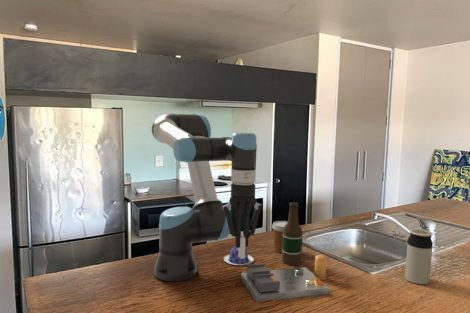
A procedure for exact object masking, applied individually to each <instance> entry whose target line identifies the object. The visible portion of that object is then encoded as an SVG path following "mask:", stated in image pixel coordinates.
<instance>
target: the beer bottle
mask: <svg viewBox="0 0 470 313" xmlns="http://www.w3.org/2000/svg"><path fill="white" fill-rule="evenodd" d="M288 206H289V209H288V210H289V211H288V219H287V224H286V225H285V227H284V229H283V242H282V253H281V261H282V262H283V264H284V265H288V266H298V265H299V264H301V263H302V256H303V254H302V253H303V250H302V249H303V230H302V227H301V226H300V224H299V206H300V205H299V203H298V202H295V201H292V202H289V205H288Z"/></svg>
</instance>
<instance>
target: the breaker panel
mask: <svg viewBox="0 0 470 313" xmlns="http://www.w3.org/2000/svg"><path fill="white" fill-rule="evenodd" d="M269 270H270V269H269ZM270 273H273V276H274V277H275V279H276V280H277V281H280V290H277V291H268V292H260V291H259V289H258V288H257V287H256V285H255V284H254V280H253V281H252V280H251V278H250V277H249V275H248V274H247V272H241V273H240V279H241V281H242V282H243V284H244V285H245V287H246V289H247V290H248V292H249V293H250V294H251V296H252V298H253V299H254V301H255V302H256V303H259V302H265V301H267V302H268V301H276V300H284V299H293V298H294V299H295V298H302V297H311V296H320V295H328V294H329V293H330V292H329V290H330V287H328V286H327V285H326V284H325V283H324V282H323V280H320V279H318V278H317V277H316V276H315V275H314V272H312V271H311V270H309V269H308V268H307V267H306V266H304V267H293V268H283V269H273V270H270Z"/></svg>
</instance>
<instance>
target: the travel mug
mask: <svg viewBox="0 0 470 313" xmlns="http://www.w3.org/2000/svg"><path fill="white" fill-rule="evenodd" d="M433 234H434V233H433V232H432V231H430V230H427V229H422V228H410V229H409V237H408V238H407V244H406V245H407V246H406V257H405V270H404V271H405V272H404V279H405V280H406V281H408V282H410V283H412V284H416V285H428V284H429V283H430V277H431V268H432V267H431V266H432V258H433V257H432V255H433V245H434V244H433V243H434V242H433V241H432V236H434V235H433Z"/></svg>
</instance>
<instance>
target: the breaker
mask: <svg viewBox="0 0 470 313" xmlns="http://www.w3.org/2000/svg"><path fill="white" fill-rule="evenodd" d="M265 265H266V264H265V263H253V264H252V263H250V264H246V273H247V274H248V275H249V277H250V278H251V280H252V281H253V280H254V275H259V274H270V269H268V268H267V267H266V266H265Z"/></svg>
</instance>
